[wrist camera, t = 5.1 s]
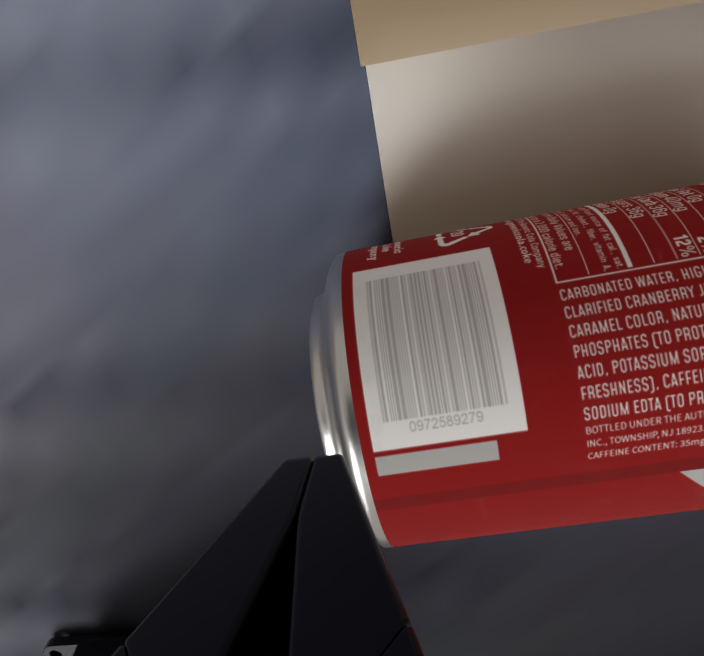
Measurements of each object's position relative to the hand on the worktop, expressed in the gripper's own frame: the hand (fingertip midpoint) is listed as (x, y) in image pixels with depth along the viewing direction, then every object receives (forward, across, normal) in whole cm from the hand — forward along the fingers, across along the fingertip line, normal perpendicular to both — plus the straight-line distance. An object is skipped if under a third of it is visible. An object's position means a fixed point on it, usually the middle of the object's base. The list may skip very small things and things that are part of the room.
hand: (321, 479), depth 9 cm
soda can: (+5, +1, +2) cm, 6 cm away
